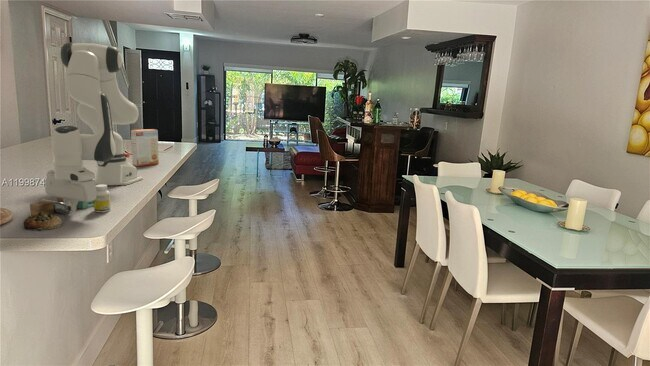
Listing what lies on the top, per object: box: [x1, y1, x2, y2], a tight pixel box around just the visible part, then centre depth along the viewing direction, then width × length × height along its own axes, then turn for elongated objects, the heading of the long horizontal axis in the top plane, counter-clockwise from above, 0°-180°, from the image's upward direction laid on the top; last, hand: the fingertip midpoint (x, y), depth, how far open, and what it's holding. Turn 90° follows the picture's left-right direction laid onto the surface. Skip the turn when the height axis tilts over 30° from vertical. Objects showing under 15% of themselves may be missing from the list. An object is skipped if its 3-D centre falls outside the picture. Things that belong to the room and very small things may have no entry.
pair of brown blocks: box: [29, 197, 78, 216], centre depth 154 cm, size 16×4×4 cm, turn 162°
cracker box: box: [130, 128, 160, 167], centre depth 250 cm, size 14×6×21 cm, turn 144°
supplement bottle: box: [93, 184, 111, 213], centre depth 158 cm, size 5×5×10 cm
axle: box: [38, 198, 72, 215], centre depth 154 cm, size 4×12×4 cm, turn 72°
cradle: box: [76, 201, 94, 210], centre depth 165 cm, size 10×10×3 cm
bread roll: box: [22, 212, 63, 231], centre depth 139 cm, size 11×11×5 cm
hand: (71, 210), depth 152 cm, fingers closed
